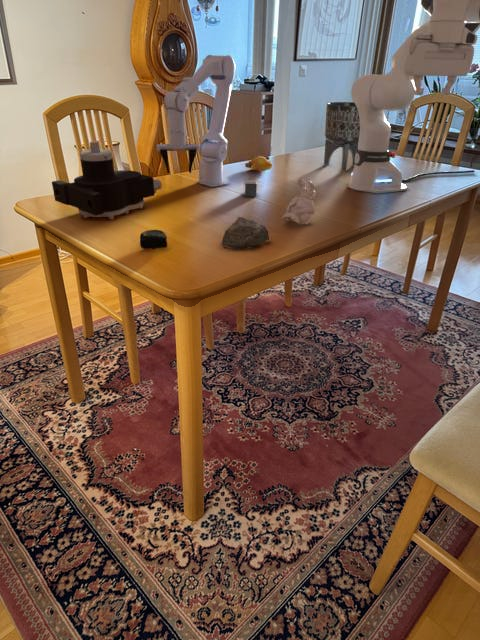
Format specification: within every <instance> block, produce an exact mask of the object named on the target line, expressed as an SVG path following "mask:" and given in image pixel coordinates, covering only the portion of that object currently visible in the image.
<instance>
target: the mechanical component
mask: <svg viewBox="0 0 480 640" xmlns="http://www.w3.org/2000/svg"><path fill="white" fill-rule="evenodd" d="M89 146H90V149H86V150H81V151H80V152H79V154H78V155H79V158H80V160H79V161H80V166H81V172H82V175H79V176H76V177H75V178H74V179H73V181H74V182H66V181H64V180H60V179H59V180H54V181H51V187H52V191H53V196H54V201H55V202H58V203H60V204H63V205H67V206H71V207H74V208H77V209H78V213H79V214H80V215H83V218H85V219H89V218H90V217H93V218H105V217H108V220H114V219H115V216H119V215H121V214H126V215H127V214H129V213H130V210H135V209H136V210H137V209H143V207H144V199H147V198H150V197H154V196H155V194H156V193H157V190H161V189H162V186H163V183H162V181H161V180H160V179H158V178H157V179H155V178H154V177H153V176H149V175H146V174H143V173H141V172H139V171H136V170H129V169H126V170H125V169H124V170H123V169H121V170H115V165H114V154H113V151H111V150H109V149H102V148H101V144H100V141H89Z"/></svg>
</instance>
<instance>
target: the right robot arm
mask: <svg viewBox="0 0 480 640" xmlns="http://www.w3.org/2000/svg"><path fill="white" fill-rule="evenodd" d="M420 5H421V8H423V10H424V11H425V12H427V13H428V15H429V16H430V17H429V19H427V20H426V21H424V22H423V23H421V25H419V26H418V27H416V28H415V29H414V31H413V32H412V33H411V34H410V35H409V36H408V37H407V38H406V39H405V40H404V41H403V42H402V44H400V46H399V47H398V49H397V50H396V51H395V52H394V53H393V54H392V56H391V59H390V66H391V70H390V71H389V72H387V73H386V74H373V73H370V74H365V75H360V76H359V77H357V78H356V79H355V80H354V82H353V84H352V85H351V91H350V97H351V100H352V102H354V103H355V104H356V107H357V109H358V113H359V119H360V134H359V142H358V148H357V149H356V155H355V166H353V171H352V172H351V174H350V175H351V176H350V180H349V182H348V184H347V187H348V188H350V189H352V190H355V191H359V192H367V193H372V194H386V193H387V194H388V193H393V192H394V193H395V192H404V191H408V186H406V184H404V183H406V182H409V181H412V180H415V179H417V178H420V177H423V176H430V175H448V174H469V173H475V170H473V169H472V170H454V171H453V170H452V171H451V170H449V171H448V170H447V171H432V172H422V173H418V174H417V175H416V174H415V175H414V176H410V177H408V178H407V179H403V173H402V170H400V169H399V168H398V167H397V165H395V164H394V163H393V162H392V161H391V158H392V159H396V158H397V153H396V152H395V151H390V150H389V145H390V139H391V135H392V127H391V125H390V123H389V122H388V121H387V119H386V115H385V111H387V112H397V111H402V110H406V109H408V107H409V106H410V105H411V104H412V103H413V100H414V98H415V96H423V94H424V90H425V87H423V86H422V84H423V83H422V81H424V77H446V81H447V82H446V83H445V85H444V87H441V92H440V95H442V96H449V95H450V93H451V90H452V87H453V86H454V84H455V83H456V81H457V78H458V77H467V76H468V74H469V73H470V71H471V69H472V64H473V60H474V55H475V47H474V45H475V44H477V41H478V35H477V34H476V33H477V32H478V31H479V29H480V0H421V1H420Z"/></svg>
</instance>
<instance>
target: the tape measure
mask: <svg viewBox="0 0 480 640" xmlns="http://www.w3.org/2000/svg"><path fill="white" fill-rule="evenodd" d="M167 236H168V235H167V234H166V232H165V231H164V230H161V229H147V230H144V231H143V232H141V233H140V235H139V240H140V241H139V245H140V246H139V247H141V248H142V249H146V250H157V249H167V248H168V240H167V239H168V237H167Z"/></svg>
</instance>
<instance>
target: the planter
mask: <svg viewBox="0 0 480 640" xmlns="http://www.w3.org/2000/svg"><path fill="white" fill-rule="evenodd" d="M324 125H325V126H324V139H325V144H324V156H323V157H324V158H323V165H325V166H328V165H330V163H331V158H332V156H333V154H334V153H335V151H336V150H337V149H340V148H341V150H342V153H341V166H340V170H341V172H345V171H347V167H348V166H347V165H348V159H349V152H350V154H351V157H352V158H351V159H352V160H351V161H352V166H353V167H354V166H355V155H356V149H357V148H358V142H359V134H360V119H359V113H358V109H357V107H356V104H355V103H354V102H353V101H333V102H327V103H326V109H325V124H324Z"/></svg>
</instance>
